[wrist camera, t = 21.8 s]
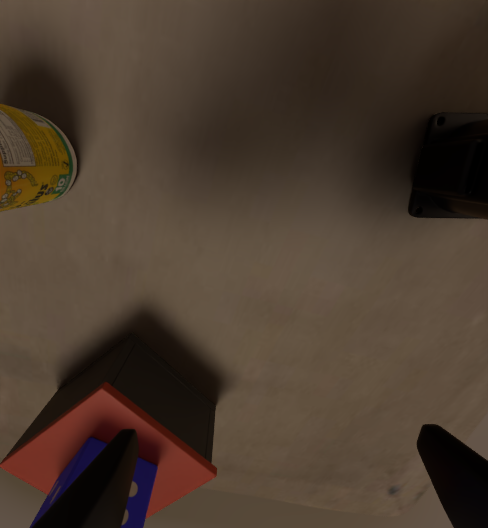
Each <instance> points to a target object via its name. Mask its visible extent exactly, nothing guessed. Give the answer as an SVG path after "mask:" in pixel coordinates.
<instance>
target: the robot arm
mask: <svg viewBox="0 0 488 528" xmlns="http://www.w3.org/2000/svg"><path fill="white" fill-rule="evenodd" d="M438 118H439V119H440V124H439V125H437V119H438ZM418 207H419V211H418V212H417V213H416V208H418ZM409 214H410V215H411V216H413V217H417V218H480V219H487V220H488V114H480V113H448V112H442V113H437V114H434V115H433V116H432V117H431V118H430V120H429V122H428V126H427V131H426V135H425V140H424V144H423V147H422V148H421V152H420V156H419V161H418V165H417V170H416V174H415V179H414V183H413V193H412V197H411V202H410V206H409ZM417 449H418V452H419V454H420V456H421V459H422V461H423V463H424V465H425V468H426V470H427V472H428V474H429V477H430V479H431V481H432V484H433V486H434V488H435V490H436V493H437V494H438V497H439V499H440V501H441V504H442V505H443V508H444V510H445V512H446V514H447V515H448V518H449V519H450V521H451V523H452V525H453V527H454V528H488V461H487V460H486V459H485V458H483V457H482V456H480V455H479V454H478V453H476V452H475V451H473V450H472V449H471V448H469V447H468V446H467V445H465V444H464V443H462V442H461V441H460V440H458V439H457V438H456V437H454V436H453V435H451V434H450V433H449V432H447V431H446V430H445V429H443V428H442V427H440V426H439V425H436V424H424V425H423V426H422V428H421V431H420V434H419V437H418V440H417ZM138 454H139V445H138V438H137V432H136V430H135V429H122V430H120V431H119V432H118V433H117V435H116V436H115V437H114V438H113V439H112V440H111V441H110V442H109V443H108V444H107V445H106V447H105V448H104V449H103V450H102V451H101V452H100V453H99V454H98V455H97V456H96V457H95V459H94V460H93V461H92V462H91V463H90V464H89V465H88V466H87V467H86V468H85V469H84V471H83V472H82V473H81V474H80V475H79V476H78V477H77V478H76V479H75V480H74V482H73V483H72V484H71V485H70V486H69V487H68V488H67V489H66V490H65V491H64V492H63V494H62V495H61V496H60V497H59V498H58V499H57V500H56V501H55V502H54V503H53V504H52V506H51V507H50V508H49V509H48V510H47V511H46V512H45V513H44V514H43V515H42V516H41V518H40V519H39V520H38V521H37V522H36V523H35V524H34V525H33V526H32V527H31V528H121V525H122V521H123V518H124V514H125V510H126V506H127V502H128V497H129V493H130V489H131V485H132V480H133V476H134V472H135V467H136V463H137V459H138Z"/></svg>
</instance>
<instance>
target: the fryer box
mask: <svg viewBox="0 0 488 528" xmlns="http://www.w3.org/2000/svg"><path fill="white" fill-rule="evenodd" d="M104 382H107V383H109V384H110V385H111V386H112V387H114V388H115V389H116V390H118V391H119V392H120V393H121V394H123V395H124V396H125V397H127V398H128V399H129V400H130V401H132V402H133V403H134V404H136V405H137V406H138V407H139V408H141V409H142V410H143V411H144V412H146V413H147V414H148V415H150V416H151V417H152V418H153V419H155V420H156V421H157V422H159V423H160V424H161V425H162V426H164V427H165V428H166V429H168V430H169V431H170V432H171V433H173V434H174V435H175V436H177V437H178V438H179V439H180V440H182V441H183V442H184V443H186V444H187V445H188V446H189V447H191V448H192V449H193V450H194V451H196V452H197V453H198V454H200V455H201V456H202V457H203V458H205V459H206V460H207V461H209V462H210V463H211V461H212V448H213V435H214V422H215V410H216V406H215V405H214V404H213V403H212V402H211V401H209V400H208V399H207V398H206V397H205V396H204V395H203V394H201V393H200V392H199V391H198V390H197V389H196V388H195V387H193V386H192V385H191V384H190V383H189V382H188V381H187V380H185V379H184V378H183V377H182V376H181V375H180V374H179V373H177V372H176V371H175V370H174V369H173V368H172V367H171V366H170V365H168V364H167V363H166V362H165V361H164V360H163V359H162V358H160V357H159V356H158V355H157V354H156V353H155V352H154V351H152V350H151V349H150V348H149V347H148V346H147V345H146V344H144V343H143V342H142V341H141V340H140V339H139V338H138V337H136V336H135V335H134V334H133V333H131V334H129V335H128V336H127V337H126V338H124V339H123V340H122V341H121V342H119V343H118V344H117V345H115V346H114V347H113V348H112V349H110V350H109V351H108V352H107V353H105V354H104V355H103V356H101V357H100V358H99V359H98V360H96V361H95V362H94V363H92V364H91V365H90V366H89V367H87V368H86V369H85V370H84V371H82V372H81V373H80V374H78V375H77V376H76V377H75V378H73V379H72V380H71V381H70V382H68V383H67V384H66V385H64V386H63V387H62V388H61V389H59V390H58V391H57V392H56V393H55V395H54V396H53V397H52V398H51V400H50V401H49V402H48V403H47V405H46V406H45V407H44V409H43V410H42V411H41V412H40V414H39V415H38V416H37V417H36V419H35V420H34V421H33V423H32V424H31V425H30V426H29V428H28V429H27V430H26V431H25V433H24V434H23V435H22V437H21V438H20V439H19V440H18V442H17V443H16V444H15V445H14V447H13V448H12V449H11V451H10V452H9V453H8V454H7V456H8V455H9V454H11V453H12V452H13V451H15V450H16V449H17V448H19V447H20V446H21V445H22V444H24V443H25V442H26V441H28V440H29V439H30V438H32V437H33V436H34V435H36V434H37V433H38V432H40V431H41V430H42V429H44V428H45V427H46V426H47V425H49V424H50V423H51V422H53V421H54V420H55V419H57V418H58V417H59V416H61V415H62V414H63V413H65V412H66V411H67V410H69V409H70V408H71V407H73V406H74V405H75V404H76V403H78V402H79V401H80V400H82V399H83V398H84V397H86V396H87V395H88V394H90V393H91V392H92V391H94V390H95V389H96V388H98V387H99V386H100V385H102V384H103V383H104Z"/></svg>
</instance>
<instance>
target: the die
mask: <svg viewBox="0 0 488 528" xmlns="http://www.w3.org/2000/svg"><path fill="white" fill-rule="evenodd" d="M106 445H107V443H105V442H103V441H100V440H98V439H96V438H94V437H90V438H88V439H87V441H86V442H85V443H84V445H83V446H82V447H81V448H80V450H79V451H78V452H77V454H76V455H75V456H74V458H73V459H72V460H71V462H70V463H69V464H68V465H67V467H66V468H65V469H64V471H63V472H62V473H61V475H60V476H59V477H58V479H57V480H56V482H55V483H54V485H53V487H52V489H51V491H50V492H49V494H48V496H47V498H46V499H45V501H44V503H43V505H42V507H41V508H40V510H39V512H38V514H37V516H36V517H35V519H34V521H33V522H32V524H31V526H30V528H31V527H32V526H33V525H34V524H35V523H36V522H37V521H38V520H39V519H40V518H41V516H42V515H43V514H44V513H45V512H46V511H47V510H48V509H49V508H50V507H51V506H52V504H53V503H54V502H55V501H56V500H57V499H58V498H59V497H60V496H61V495H62V494H63V492H64V491H65V490H66V489H67V488H68V487H69V486H70V485H71V484H72V483H73V482H74V480H75V479H76V478H77V477H78V476H79V475H80V474H81V473H82V472H83V471H84V469H85V468H86V467H87V466H88V465H89V464H90V463H91V462H92V461H93V460H94V459H95V457H96V456H97V455H98V454H99V453H100V452H101V451H102V450H103V449H104V448H105V447H106ZM157 470H158V467H157V465H155V464H153V463H151V462H148V461H146V460H144V459H141V458H139V457H138V459H137V463H136V467H135V472H134V476H133V480H132V485H131V489H130V493H129V497H128V502H127V506H126V510H125V514H124V518H123V521H122V525H121V528H143V526H144V522H145V518H146V514H147V510H148V506H149V502H150V498H151V494H152V490H153V486H154V482H155V478H156V474H157Z"/></svg>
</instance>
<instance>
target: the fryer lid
mask: <svg viewBox="0 0 488 528" xmlns="http://www.w3.org/2000/svg"><path fill="white" fill-rule="evenodd" d="M122 429H135V430H136V432H137V438H138V445H139V454H138V457H139V458H141V459H144V460H146V461H148V462H151V463H153V464H155V465H157V467H158V470H157V474H156V478H155V482H154V486H153V490H152V494H151V498H150V502H149V506H148V510H147V514H146V518H148V517H150V516H151V515H153V514H155V513H156V512H158V511H160V510H161V509H163V508H164V507H166V506H168V505H170V504H171V503H173V502H175V501H176V500H178V499H180V498H181V497H183V496H185V495H186V494H188V493H190V492H191V491H193V490H195V489H196V488H198V487H200V486H201V485H203V484H205V483H206V482H208V481H210V480H211V479H213V478H215V477H216V476H217V468H216V467H215V466H214V465H212V464H211V463H210V462H209V461H207V460H206V459H205V458H203V457H202V456H201V455H200V454H198V453H197V452H196V451H194V450H193V449H192V448H191V447H189V446H188V445H187V444H186V443H184V442H183V441H182V440H180V439H179V438H178V437H177V436H175V435H174V434H173V433H171V432H170V431H169V430H168V429H166V428H165V427H164V426H162V425H161V424H160V423H159V422H157V421H156V420H155V419H153V418H152V417H151V416H150V415H148V414H147V413H146V412H144V411H143V410H142V409H141V408H139V407H138V406H137V405H136V404H134V403H133V402H132V401H130V400H129V399H128V398H127V397H125V396H124V395H123V394H121V393H120V392H119V391H118V390H116V389H115V388H114V387H112V386H111V385H110V384H109V383H107V382H104V383H103V384H102V385H100V386H99V387H98V388H96V389H95V390H94V391H92V392H91V393H90V394H88V395H87V396H86V397H84V398H83V399H82V400H80V401H79V402H78V403H76V404H75V405H74V406H73V407H71V408H70V409H69V410H67V411H66V412H65V413H63V414H62V415H61V416H59V417H58V418H57V419H55V420H54V421H53V422H51V423H50V424H49V425H47V426H46V427H45V428H44V429H42V430H41V431H40V432H38V433H37V434H36V435H34V436H33V437H32V438H30V439H29V440H28V441H26V442H25V443H24V444H22V445H21V446H20V447H19V448H17V449H16V450H15V451H13V452H12V453H11V454H9V455H8V456H7V457H5V458H4V459H3V461H2V462H1V463H0V467H1V468H2V469H4V470H6V471H8V472H9V473H11V474H13V475H14V476H16V477H18V478H19V479H21V480H23V481H25V482H26V483H28V484H30V485H32V486H33V487H35V488H37V489H38V490H40V491H42V492H44V493H45V494H47V495H48V494H49V492H50V491H51V489H52V487H53V485H54V483H55V482H56V480H57V479H58V477H59V476H60V475H61V473H62V472H63V471H64V469H65V468H66V467H67V465H68V464H69V463H70V462H71V460H72V459H73V458H74V456H75V455H76V454H77V452H78V451H79V450H80V448H81V447H82V446H83V445H84V443H85V442H86V441H87V439H88V438H90V437H94V438H96V439H98V440H100V441H103V442H105V443H107V444H108V443H109V442H110V441H111V440H112V439H113V438H114V437H115V436H116V435H117V433H118V432H119V431H120V430H122ZM146 518H145V519H146Z"/></svg>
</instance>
